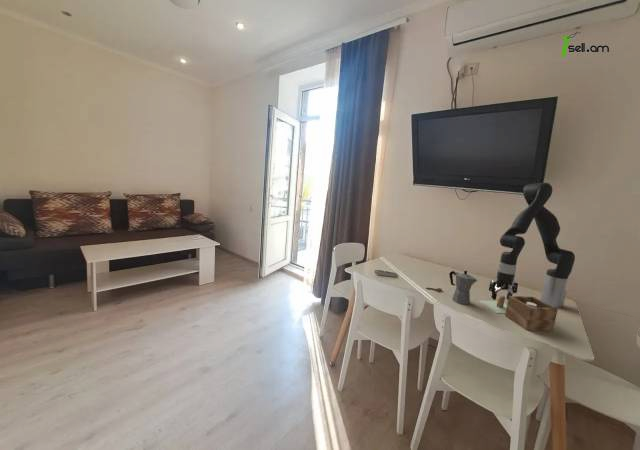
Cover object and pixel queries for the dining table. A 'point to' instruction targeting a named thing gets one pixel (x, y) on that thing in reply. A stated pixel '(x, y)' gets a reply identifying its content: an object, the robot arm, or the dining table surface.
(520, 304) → the box
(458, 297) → the coffeepot
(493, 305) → the lid
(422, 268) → the dining table surface
